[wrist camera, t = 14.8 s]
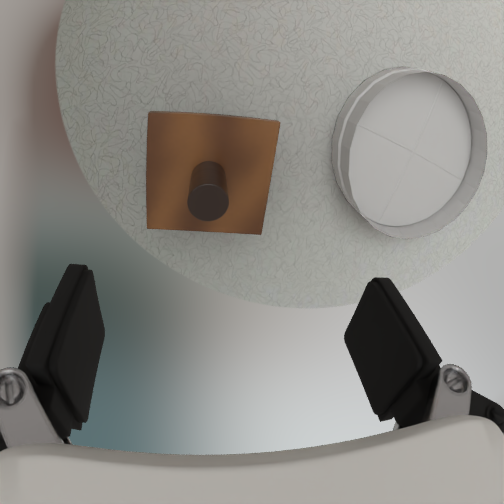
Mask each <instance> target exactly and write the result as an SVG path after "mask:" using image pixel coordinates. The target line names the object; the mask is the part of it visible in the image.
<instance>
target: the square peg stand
mask: <svg viewBox="0 0 504 504" xmlns="http://www.w3.org/2000/svg"><path fill="white" fill-rule="evenodd" d="M279 128H280V122H279V121H276V120H268V119H260V118H252V117H242V116H232V115H220V114H207V113H191V112H167V111H150V112H149V113H148V130H147V163H146V208H147V229H166V230H186V231H205V232H223V233H241V234H258V235H261V233H262V227H263V222H264V216H265V210H266V204H267V198H268V193H269V187H270V181H271V175H272V169H273V163H274V157H275V152H276V146H277V140H278V134H279Z"/></svg>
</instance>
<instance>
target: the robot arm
mask: <svg viewBox="0 0 504 504" xmlns="http://www.w3.org/2000/svg"><path fill="white" fill-rule="evenodd" d="M104 337H105V329H104V324H103V320H102V315H101V311H100V306H99V301H98V297H97V292H96V286H95V281H94V276H93V271H92V270H88V267H87V266H86V265H78V264H69V266H68V267H67V269H66V271H65V273H64V275H63V277H62V279H61V281H60V283H59V285H58V287H57V289H56V291H55V294H54V296H53V298H52V300H51V302H50V303H49V302H48V303H46V304H45V305H44V307H43V309H42V311H41V313H40V315H39V318H38V320H37V322H36V324H35V327H34V329H33V331H32V334H31V336H30V339H29V341H28V343H27V346H26V348H25V351H24V354H23V357H22V359H21V362H20V364H19V367H18V369H17V368H14V367H13V368H11V367H9V368H4V369H1V370H0V504H504V409H503V408H502V407H501V406H500V405H498V404H497V403H495V402H493V401H491V400H489V399H488V398H486V397H484V396H482V395H480V394H478V393H476V392H474V391H473V390H471V388H472V386H471V380H470V378H469V376H468V375H467V373H466V372H465V371H464V370H463V369H462V368H460V367H459V366H456V365H454V364H447V365H444V366H443V367H442V368H440V366H439V364H440V363H441V362H442V359H441V358H440V356H439V354H438V353H437V351H436V349H435V348H434V346H433V344H432V343H431V341H430V339H429V338H428V336H427V334H426V333H425V331H424V330H423V328H422V326H421V325H420V323H419V322H418V320H417V319H416V317H415V315H414V314H413V312H412V311H411V309H410V308H409V306H408V305H407V303H406V302H405V300H404V299H403V297H402V296H401V294H400V293H399V291H398V290H397V288H396V287H395V285H394V284H393V282H392V281H391V280H390V279H389V278H373V279H372V281H371V282H369V283H368V284H367V286H366V288H365V291H364V293H363V295H362V297H361V300H360V302H359V304H358V306H357V308H356V310H355V313H354V315H353V317H352V319H351V321H350V323H349V325H348V328H347V329H346V332H345V335H344V340H345V343H346V346H347V348H348V350H349V353H350V355H351V358H352V360H353V362H354V365H355V367H356V370H357V372H358V375H359V377H360V379H361V382H362V385H363V387H364V389H365V392H366V395H367V397H368V400H369V402H370V404H371V407H372V409H373V412H374V413H375V414H376V415H378V417H379V420H380V422H381V421H385V420H389V419H392V418H393V417H394V418H395V420H396V423H395V426H394V428H393V431H390V432H386V433H382V434H378V435H373V436H369V437H364V438H360V439H355V440H350V441H345V442H340V443H334V444H328V445H322V446H316V447H309V448H301V449H293V450H284V451H275V452H264V453H250V454H229V455H228V454H227V455H177V454H157V453H143V452H130V451H129V452H128V451H119V450H110V449H101V448H94V447H86V446H77V445H73V444H72V443H71V441H70V440H69V438H68V437H69V436H70V434H71V429H77V430H81V428H82V422H85V423H86V422H87V420H88V415H89V409H90V403H91V398H92V393H93V387H94V382H95V377H96V372H97V368H98V363H99V359H100V354H101V350H102V345H103V341H104Z"/></svg>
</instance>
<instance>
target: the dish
mask: <svg viewBox="0 0 504 504" xmlns="http://www.w3.org/2000/svg"><path fill="white" fill-rule="evenodd" d="M486 158H487V132H486V128H485V124H484V120H483V116H482V114H481V112H480V110H479V108H478V106H477V104H476V102H475V100H474V98H473V97H472V96H471V95H470V94H469V93H468V92H467V90H466V89H465V88H464V87H463V86H462V85H461V84H459V83H458V82H456V81H454V80H452V79H451V78H449V77H447V76H445V75H441V74H436V73H434V72H432V71H428V70H422V69H416V68H409V67H397V68H392V69H386V70H382V71H381V72H379V73H377V74H375V75H373V76H371V77H369V78H368V79H366V80H365V81H364V82H363V83H362V84H361V85H360V86H359V87H358V88H357V89H356V90H355V91H354V92H353V93H352V94H351V95H350V96H349V98H348V99H347V101H346V103H345V105H344V106H343V108H342V110H341V112H340V113H339V115H338V118H337V122H336V126H335V130H334V133H333V137H332V164H333V169H334V173H335V177H336V182H337V184H338V185H339V187H340V189H341V191H342V193H343V194H344V196H345V198H346V200H347V201H348V202H349V203H350V204H351V205H352V207H353V208H354V209H355V210H356V211H357V212H358V213H359V214H360V215H361V216H362V217H363V218H364V219H366V220H367V221H368V222H369V223H370V224H371V225H372V226H373V227H374V228H375V229H376V230H378V231H380V232H382V233H384V234H386V235H388V236H390V237H395V238H402V239H413V238H420V237H425V236H427V235H430V234H432V233H435V232H437V231H440V230H441V229H443V228H444V227H445V226H447V225H448V224H450V223H451V222H452V221H454V220H455V219H456V218H457V217H458V216H459V215H460V214H461V212H462V211H463V210H464V209H465V208H466V207H467V206H468V204H469V203H470V201H471V199H472V198H473V196H474V195H475V193H476V191H477V189H478V187H479V184H480V181H481V179H482V176H483V173H484V169H485V164H486Z"/></svg>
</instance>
